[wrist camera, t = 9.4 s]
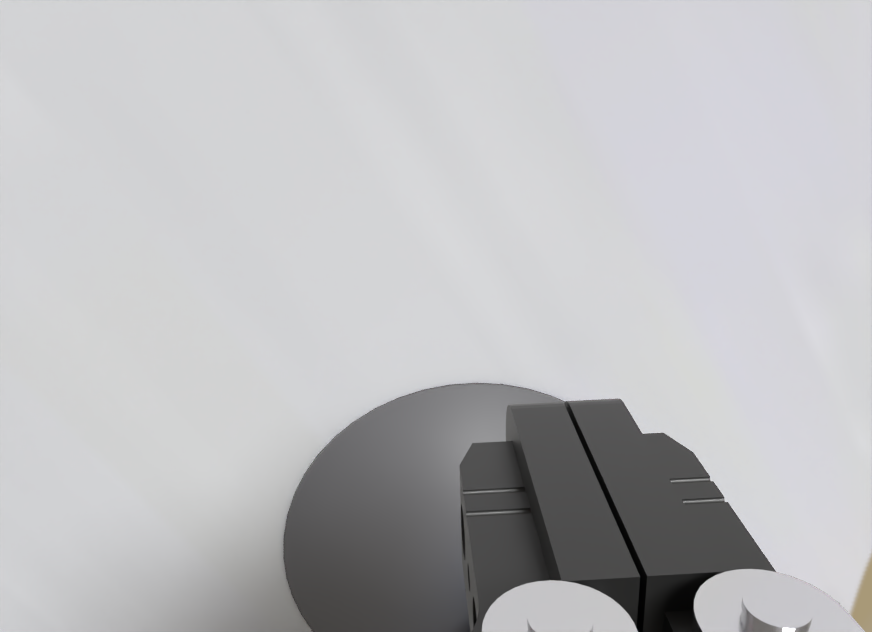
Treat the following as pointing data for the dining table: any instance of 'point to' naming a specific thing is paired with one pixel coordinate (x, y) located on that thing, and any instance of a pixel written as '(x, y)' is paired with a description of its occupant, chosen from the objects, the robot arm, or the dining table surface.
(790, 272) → the dining table surface
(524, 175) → the dining table surface
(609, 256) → the dining table surface
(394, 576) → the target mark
